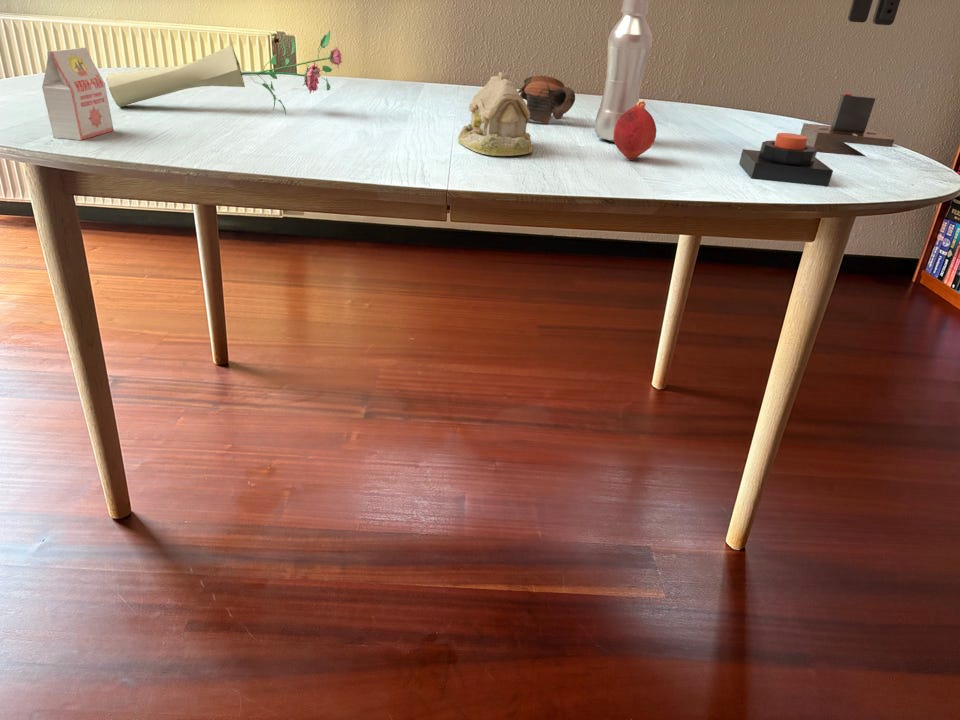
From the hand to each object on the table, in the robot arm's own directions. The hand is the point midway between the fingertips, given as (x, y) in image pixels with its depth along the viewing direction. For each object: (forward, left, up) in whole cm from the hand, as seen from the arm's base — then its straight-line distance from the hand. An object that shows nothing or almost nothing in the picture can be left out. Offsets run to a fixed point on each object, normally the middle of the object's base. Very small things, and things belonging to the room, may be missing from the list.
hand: (868, 23), depth 86 cm
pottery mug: (+40, -26, -20) cm, 52 cm away
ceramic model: (+45, 0, -20) cm, 49 cm away
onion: (+26, 0, -20) cm, 33 cm away
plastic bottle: (+28, -13, -20) cm, 37 cm away
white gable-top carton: (+97, +18, -20) cm, 101 cm away
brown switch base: (-11, -26, -20) cm, 34 cm away
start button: (+5, 0, -16) cm, 17 cm away
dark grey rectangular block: (-11, -26, -16) cm, 32 cm away
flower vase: (+89, -7, -20) cm, 92 cm away
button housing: (+5, 0, -20) cm, 20 cm away
